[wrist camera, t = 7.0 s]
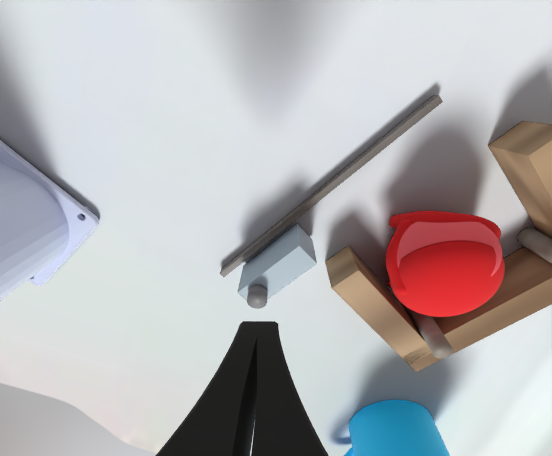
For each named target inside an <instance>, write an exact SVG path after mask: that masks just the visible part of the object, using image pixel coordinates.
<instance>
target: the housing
mask: <svg viewBox="0 0 552 456" xmlns="http://www.w3.org/2000/svg"><path fill="white" fill-rule="evenodd" d="M442 102H443V101H442V100H441V98H440V96H436V95H434V96H432V97H431V98H430V99H429V100H427V101H426V102H425V103H424V104H423V105H421V106H420V107H419V108H418V109H416V110H415V111H414V112H413V113H412V114H410V115H409V116H408V117H407V118H405V119H404V120H403V121H402V122H401V123H399V124H398V125H397V126H396V127H394V128H393V129H392V130H391V131H390V132H388V133H387V134H386V135H385V136H383V137H382V138H381V139H380V140H379V141H377V142H376V143H375V144H374V145H372V146H371V147H370V148H369V149H368V150H366V151H365V152H364V153H363V154H361V155H360V156H359V157H358V158H357V159H355V160H354V161H353V162H352V163H350V164H349V165H348V166H347V167H346V168H344V169H343V170H342V171H341V172H339V173H338V174H337V175H336V176H335V177H333V178H332V179H331V180H330V181H328V182H327V183H326V184H325V185H324V186H322V187H321V188H320V189H319V190H317V191H316V192H315V193H314V194H313V195H311V196H310V197H309V198H308V199H306V200H305V201H304V202H303V203H302V204H300V205H299V206H298V207H297V208H295V209H294V210H293V211H292V212H291V213H289V214H288V215H287V216H286V217H285V218H283V219H282V220H281V221H280V222H278V223H277V224H276V225H275V226H274V227H272V228H271V229H270V230H269V231H267V232H266V233H265V234H264V235H263V236H261V237H260V238H259V239H258V240H256V241H255V242H254V243H253V244H252V245H250V246H249V247H248V248H247V249H245V250H244V251H243V252H242V253H241V254H239V255H238V256H237V257H236V258H234V259H233V260H232V261H231V262H230V263H228V264H227V265H226V266H225V267H223V268H222V269H221V272H220V274H221V275H222V276H223V277H225V276H226V275H228V274H229V273H230V272H231V271H232V270H234V269H235V268H236V267H237V266H239V265H240V264H241V263H242V262H244V261H245V260H246V259H247V258H249V257H250V256H251V255H252V254H254V253H255V252H256V251H257V250H259V249H260V248H261V247H262V246H264V245H265V244H266V243H267V242H269V241H270V240H271V239H272V238H274V237H275V236H276V235H277V234H279V233H280V232H281V231H282V230H284V229H285V228H286V227H287V226H289V225H290V224H291V223H292V222H294V221H295V220H296V219H297V218H299V217H300V216H301V215H302V214H304V213H305V212H306V211H307V210H309V209H310V208H311V207H312V206H313V205H315V204H316V203H317V202H318V201H320V200H321V199H322V198H323V197H325V196H326V195H327V194H328V193H330V192H331V191H332V190H333V189H335V188H336V187H337V186H338V185H340V184H341V183H342V182H343V181H345V180H346V179H347V178H348V177H350V176H351V175H352V174H353V173H355V172H356V171H357V170H358V169H360V168H361V167H362V166H363V165H365V164H366V163H367V162H368V161H370V160H371V159H372V158H373V157H375V156H376V155H377V154H378V153H380V152H381V151H382V150H383V149H385V148H386V147H387V146H388V145H389V144H391V143H392V142H393V141H394V140H396V139H397V138H398V137H399V136H401V135H402V134H403V133H404V132H406V131H407V130H408V129H409V128H411V127H412V126H413V125H414V124H416V123H417V122H418V121H419V120H421V119H422V118H423V117H424V116H426V115H427V114H428V113H429V112H431V111H432V110H433V109H434V108H436V107H437V106H438V105H439V104H441V103H442ZM488 146H489V148H490V150H491V152H492V153H493V155H494V157H495V158H496V160H497V162H498V163H499V165H500V167H501V169H502V170H503V172H504V174H505V175H506V177H507V179H508V181H509V182H510V184H511V186H512V187H513V189H514V191H515V193H516V194H517V196H518V198H519V199H520V201H521V203H522V205H523V206H524V208H525V210H526V211H527V213H528V215H529V216H530V218H531V220H532V222H533V223H534V225H535V227H536V228H537V230H538V231H537V230H535V229H533V228H526V229H524V230H522V231H521V232H520V233H519V234H518V236H517V241H518V242H519V243H520V244H522V245H524V247H523V248H521V249H519V250H517V251H516V252H514V253H512V254H510V255H509V256H507V257H505V258H504V259H503V260H504V265H505V271H504V277H503V280H502V283H501V285H500V287H499V289H498V290H497V291H496V293H495V294H494V295H493V296H492V297H491V298H490V299H489V300H488V301H487V302H486V303H484V304H483V305H481V306H480V307H478V308H476V309H474V310H472V311H469V312H467V313H464V314H460V315H456V316H449V317H435V316H428V315H424V314H420V313H417V312H415V311H413V310H411V309H409V308H408V307H406V306H405V307H406V308H407V310H408V311H407V310H406V309H405V307H404V306H403V305H402V304H401V303H400V302H399V301H398V300H397V299H396V298H395V296H394V295H393V294H392V293H391V292H390V291H389V290H388V289H387V288H386V287H385V285H384V284H383V283H382V282H381V281H380V280H379V279H378V278H377V277H376V276H375V274H374V273H373V272H372V271H371V270H370V269H369V268H368V267H367V266H366V265H365V264H364V262H363V261H362V260H361V259H360V258H359V257H358V256H357V255H356V254H355V253H354V251H353V250H352V249H351V248H350V247H349V246H347V247H345V248H344V249H342V250H341V251H340V252H338V253H337V254H335V255H334V256H333V257H331V258H330V259H328V260H327V261H326V262H325V263H326V267H327V271H328V275H329V279H330V283H331V287H332V289H333V290H334V291H335V292H336V293H337V294H338V295H339V296H340V297H341V298H342V299H343V300H344V301H345V302H346V303H347V304H348V305H349V306H350V307H351V308H352V309H353V310H354V311H355V312H356V313H357V314H358V315H359V316H360V317H361V318H362V319H363V320H364V321H365V322H366V323H367V324H368V325H369V326H370V327H371V328H372V329H373V330H374V331H376V332H377V333H378V334H379V335H380V336H381V337H382V338H383V339H384V340H385V341H386V342H387V343H388V344H389V345H390V346H391V347H392V348H393V349H394V350H395V351H396V352H397V353H398V354H399V355H400V356H401V357H402V358H403V359H404V360H405V361H406V362H407V363H408V364H409V365H410V366H411V367H412V368H413V369H414V370H415V371H416V372H418V371H420V370H422V369H424V368H426V367H428V366H430V365H432V364H434V363H436V362H438V361H440V360H442V359H443V358H446V357H448V356H449V355H451V354H453V353H455V352H457V351H459V350H461V349H463V348H465V347H467V346H469V345H471V344H473V343H475V342H477V341H479V340H481V339H483V338H485V337H487V336H489V335H491V334H493V333H495V332H497V331H499V330H501V329H503V328H505V327H507V326H509V325H511V324H513V323H515V322H517V321H519V320H521V319H523V318H525V317H527V316H529V315H531V314H533V313H535V312H537V311H539V310H541V309H543V308H545V307H547V306H549V305H551V304H552V125H551V124H542V123H534V122H526V121H522V122H520V123H519V124H518V125H516V126H515V127H513V128H512V129H511V130H509V131H508V132H506V133H505V134H504V135H502V136H501V137H499V138H498V139H497V140H495V141H494V142H492V143H491V144H490V145H488Z"/></svg>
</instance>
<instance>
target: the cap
mask: <svg viewBox="0 0 552 456" xmlns="http://www.w3.org/2000/svg"><path fill="white" fill-rule="evenodd" d="M389 223H390V226H391V227H392V228H397V229H396V231H395V233H394V235H393V237H392V239H391V241H390V243H389V245H388V248H387V251H386V267H387V271H388V274H389V277H390V282H387V281H386V284H387V285H388V286H389V287H391V288H392V291H393V293H394V294H395V296H396V297H397V299H398V300H399V301H400V302H401V303H402V304H403V305H405V306H406V307H408V308H409V309H411V310H413V311H415V312H417V313H420V314H424V315H428V316H435V317H449V316H456V315H460V314H464V313H467V312H469V311H472V310H474V309H476V308H478V307H480V306H481V305H483V304H484V303H486V302H487V301H488V300H489V299H490V298H491V297H492V296H493V295H494V294H495V293H496V291H497V290H498V289H499V287H500V285H501V283H502V280H503V277H504V271H505V265H504V260H503V254H502V248H501V244H500V242H499V239H500V236H501V231H500V229H499V227H498V226H497V225H496V224H495V223H493V222H491V221H489V220H487V219H485V218H482V217H478V216H474V215H468V214H461V213H452V212H442V211H416V212H409V213H404V214H398V215H394V216H392V217H391V219H390V222H389Z"/></svg>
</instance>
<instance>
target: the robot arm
mask: <svg viewBox="0 0 552 456" xmlns="http://www.w3.org/2000/svg"><path fill="white" fill-rule="evenodd" d="M81 214H83V215H84V216H85V218H84V217H82V215H81ZM98 224H99V220H98V218H97V217H96V216H95V215H94V214H93V213H92V212H90V211H89V210H88V209H87V208H85V207H84V206H83V205H81V204H80V203H79V202H78V201H76V200H75V199H74V198H73V197H71V196H70V195H69V194H68V193H66V192H65V191H64V190H63V189H61V188H60V187H59V186H57V185H56V184H55V183H54V182H52V181H51V180H50V179H49V178H47V177H46V176H45V175H44V174H42V173H41V172H40V171H38V170H37V169H36V168H35V167H33V166H32V165H31V164H30V163H28V162H27V161H26V160H25V159H23V158H22V157H21V156H20V155H18V154H17V153H16V152H14V151H13V150H12V149H11V148H9V147H8V146H7V145H6V144H4V143H3V142H2V141H1V140H0V300H2V299H3V298H4V297H6V296H7V295H8V294H10V293H11V292H13V291H14V290H15V289H17V288H18V287H19V286H21V285H22V284H23V283H25V282H26V281H27V280H28V281H30V282H31V283H33V284H35V285H38V286H42V285H43V284H45V283H46V282H47V281H48V280H49V279H50V278H51V276H52V275H53V274H54V273H55V272H56V271H57V270H58V269H59V268H60V267H61V265H62V264H63V263H64V262H65V261H66V260H67V259H68V258H69V257H70V256H71V254H72V253H73V252H74V251H75V250H76V249H77V248H78V247H79V246H80V245H81V243H82V242H83V241H84V240H85V239H86V238H87V237H88V236H89V235H90V233H91V232H92V231H93V230H94V229H95V228H96V227H97V226H98ZM255 415H256V416H255ZM254 422H255V426H254ZM253 429H254V436H253ZM252 436H253V445H252V454H251V456H328V454H327V452H326V450H325V449H324V447H323V445H322V443H321V441H320V439H319V437H318V435H317V434H316V432H315V430H314V428H313V426H312V424H311V422H310V419H309V417H308V415H307V413H306V411H305V409H304V407H303V404H302V402H301V400H300V398H299V395H298V393H297V390H296V388H295V385H294V383H293V380H292V378H291V375H290V372H289V369H288V366H287V363H286V360H285V357H284V354H283V350H282V346H281V342H280V337H279V330H278V323H276V322H252V321H243V322H242V323H241V324H240V326H239V329H238V331H237V333H236V336H235V338H234V340H233V342H232V344H231V346H230V348H229V350H228V352H227V354H226V356H225V357H224V359H223V361H222V363H221V365H220V366H219V368H218V370H217V372H216V373H215V375H214V377H213V378H212V380H211V381H210V383H209V385H208V386H207V388H206V389H205V391H204V392H203V394H202V396H201V397H200V398H199V400H198V401H197V403H196V404H195V406H194V407H193V409H192V410H191V411H190V413H189V414H188V415H187V417H186V418H185V420H184V421H183V422H182V424H181V425H180V426H179V427H178V429H177V430H176V431H175V432H174V434H173V435H172V436H171V438H170V439H169V440H168V441H167V443H166V444H165V445H164V446H163V447H162V449H161V450H160V451H159V452H158V454H157V455H156V456H250V450H251V443H252Z"/></svg>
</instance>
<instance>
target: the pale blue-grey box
mask: <svg viewBox="0 0 552 456" xmlns="http://www.w3.org/2000/svg"><path fill="white" fill-rule="evenodd" d="M316 264H317V261H316V256H315V251H314V246H313V241H312V239H311V238H310V237H309V236H308V235H307V234H306V233H305V232H304V231H303V230H302V228H301V227H300V226H299V225H298V224H296V225H294V226H293V227H292V228H291V229H289V230H288V231H287V232H286V233H284V234H283V235H282V236H281V237H279V238H278V239H277V240H275V241H274V242H273V243H272V244H270V245H269V246H268V247H267V248H265V249H264V250H263V251H262V252H260V253H259V254H258V255H257V256H255V257H254V258H253V259H252V260H250V261H249V262H248V263H247V264H245V265H244V266H243V270H242V275H241V279H240V284H239V288H238V292H237V293H238V294H239V295H241V296H242V297H243V298H244V299H245V300H247V303H248V305H249V306H251V307H253V308H262V307H264V306H265V305H266V303H267V299H269V298H270V297H271V296H273V295H274V294H276V293H277V292H278V291H280V290H281V289H282V288H284V287H285V286H287V285H288V284H289V283H291V282H292V281H294V280H295V279H296V278H298V277H299V276H301V275H302V274H303V273H305V272H306V271H308V270H309V269H310V268H312V267H313V266H314V265H316Z"/></svg>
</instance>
